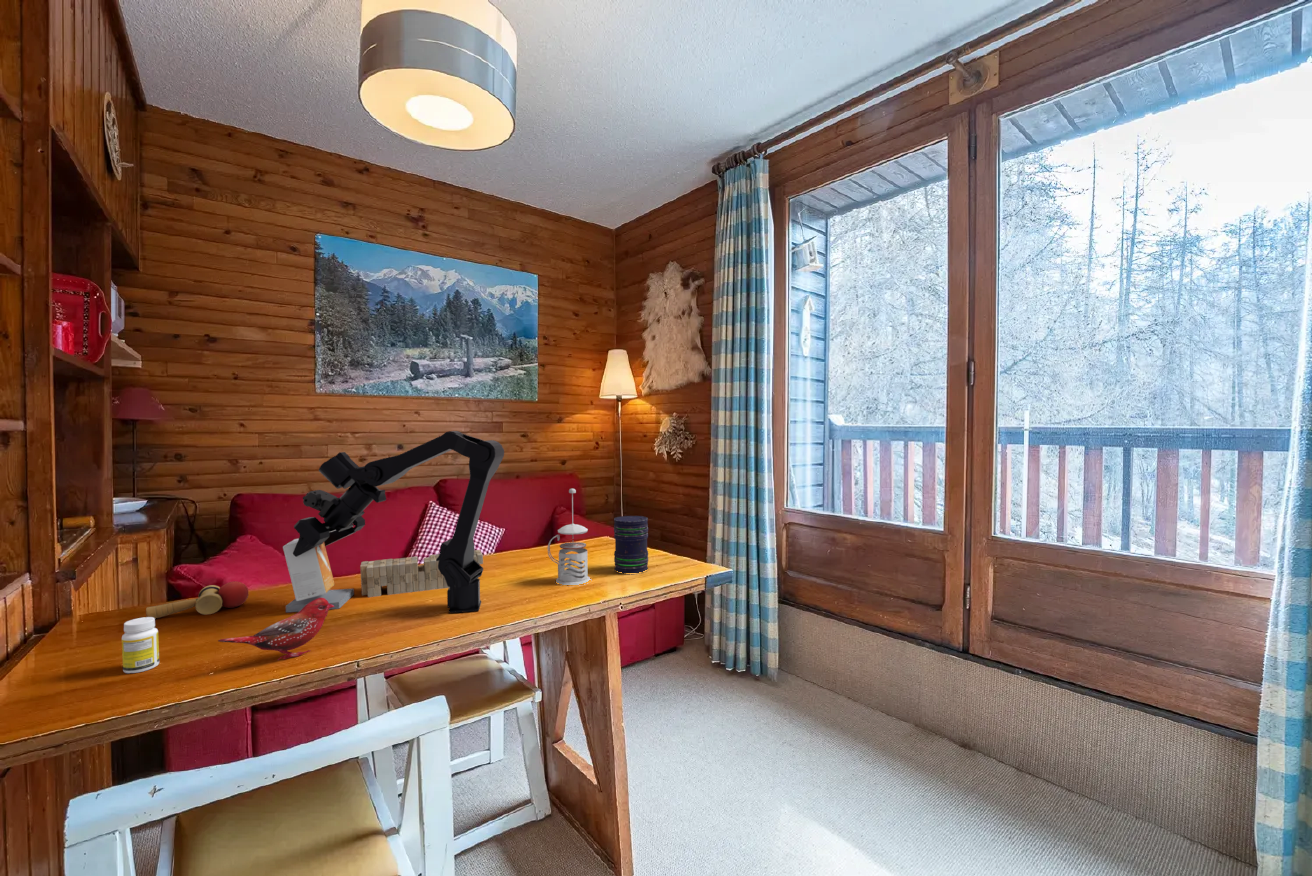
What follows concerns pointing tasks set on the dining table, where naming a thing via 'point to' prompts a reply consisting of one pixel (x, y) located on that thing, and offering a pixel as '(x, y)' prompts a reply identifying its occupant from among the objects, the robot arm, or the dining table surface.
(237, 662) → the dining table surface
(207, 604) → the kendama
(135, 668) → the supplement bottle
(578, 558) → the french press
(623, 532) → the storage jar
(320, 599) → the decorative bird figurine
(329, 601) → the flat grey square mat
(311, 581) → the small box
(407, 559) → the block tower
